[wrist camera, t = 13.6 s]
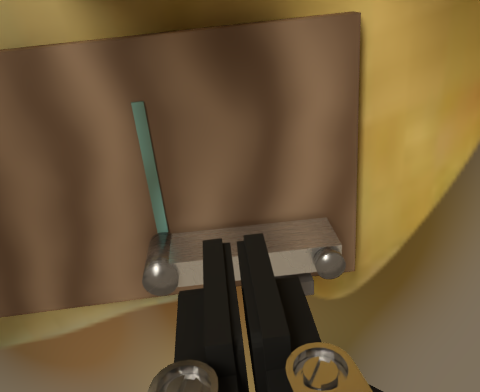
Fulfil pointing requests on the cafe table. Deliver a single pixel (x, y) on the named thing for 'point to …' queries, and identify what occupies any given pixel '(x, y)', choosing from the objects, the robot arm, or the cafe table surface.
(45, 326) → the cafe table surface
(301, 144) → the jamb plate
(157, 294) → the bar
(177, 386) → the robot arm
